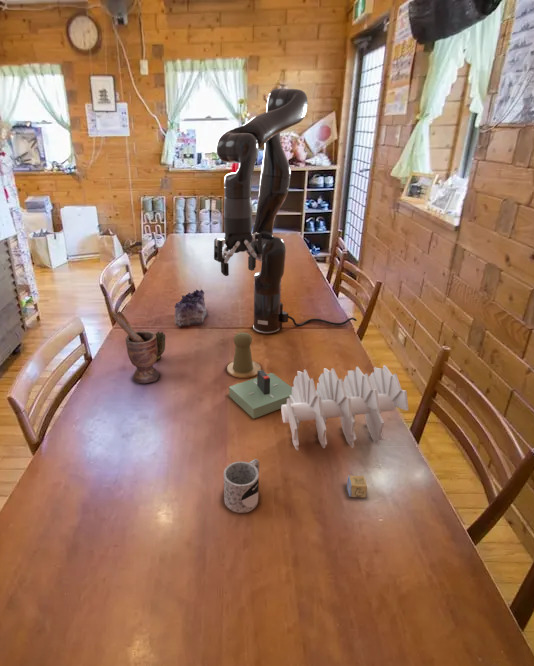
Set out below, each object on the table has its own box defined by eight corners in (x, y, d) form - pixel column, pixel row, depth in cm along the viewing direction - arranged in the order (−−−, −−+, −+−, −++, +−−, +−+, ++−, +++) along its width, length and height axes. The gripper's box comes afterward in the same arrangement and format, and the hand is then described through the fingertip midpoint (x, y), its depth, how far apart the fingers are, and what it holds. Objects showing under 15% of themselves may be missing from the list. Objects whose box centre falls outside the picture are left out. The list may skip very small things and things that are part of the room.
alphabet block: (346, 486, 92) (347, 474, 90) (362, 486, 91) (363, 475, 90) (349, 498, 89) (351, 486, 87) (365, 498, 89) (367, 486, 87)
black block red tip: (257, 385, 121) (257, 369, 119) (262, 384, 121) (262, 368, 119) (264, 394, 117) (264, 378, 115) (269, 393, 117) (270, 377, 115)
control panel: (271, 381, 128) (271, 372, 127) (298, 402, 119) (298, 391, 118) (229, 396, 122) (228, 386, 121) (253, 418, 113) (253, 408, 111)
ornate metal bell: (169, 354, 144) (167, 331, 141) (164, 365, 138) (162, 341, 134) (146, 353, 145) (144, 330, 142) (140, 364, 138) (137, 341, 135)
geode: (180, 307, 180) (183, 283, 176) (209, 311, 179) (212, 287, 175) (169, 326, 161) (171, 300, 157) (201, 331, 161) (204, 305, 157)
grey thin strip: (247, 518, 85) (247, 491, 82) (217, 503, 88) (216, 477, 85) (271, 484, 92) (272, 458, 90) (243, 472, 96) (243, 447, 93)
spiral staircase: (280, 443, 110) (380, 431, 111) (294, 464, 92) (413, 450, 94) (272, 368, 110) (372, 357, 111) (285, 375, 92) (404, 362, 94)
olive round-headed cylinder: (255, 364, 136) (255, 331, 131) (249, 374, 131) (249, 340, 126) (236, 361, 138) (236, 328, 133) (230, 371, 133) (229, 337, 128)
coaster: (249, 358, 141) (249, 356, 141) (267, 372, 133) (267, 370, 133) (220, 366, 136) (220, 365, 136) (238, 381, 129) (238, 379, 128)
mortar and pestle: (117, 386, 127) (108, 321, 119) (122, 370, 135) (113, 308, 127) (159, 384, 128) (152, 319, 119) (161, 369, 136) (155, 307, 127)
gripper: (252, 209, 127) (252, 265, 134) (207, 215, 121) (210, 273, 128) (267, 213, 122) (266, 271, 129) (221, 220, 115) (223, 280, 122)
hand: (238, 272), depth 128 cm, fingers open, 8 cm apart
